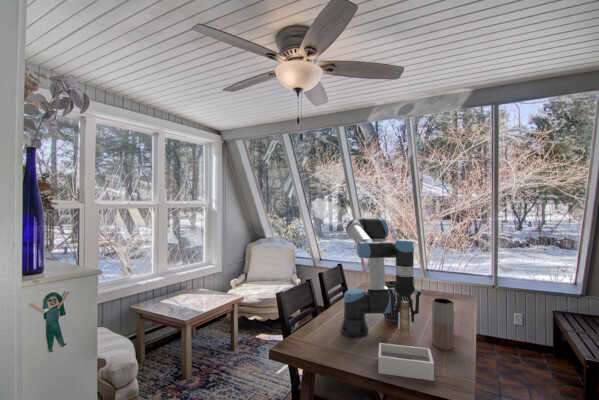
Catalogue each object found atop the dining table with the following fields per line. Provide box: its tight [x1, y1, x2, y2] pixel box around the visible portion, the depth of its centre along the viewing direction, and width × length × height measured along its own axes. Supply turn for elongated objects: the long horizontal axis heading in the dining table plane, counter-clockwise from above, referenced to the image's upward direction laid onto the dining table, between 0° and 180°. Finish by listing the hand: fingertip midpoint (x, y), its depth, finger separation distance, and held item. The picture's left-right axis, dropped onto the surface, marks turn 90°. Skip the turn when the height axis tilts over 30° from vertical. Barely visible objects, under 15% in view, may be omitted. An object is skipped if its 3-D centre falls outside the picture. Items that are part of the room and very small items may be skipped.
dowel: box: [399, 300, 411, 337], centre depth 140 cm, size 4×4×14 cm
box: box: [377, 342, 435, 382], centre depth 140 cm, size 22×14×7 cm, turn 75°
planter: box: [431, 297, 455, 351], centre depth 163 cm, size 10×10×23 cm
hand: (404, 328), depth 140 cm, fingers closed on dowel, 4 cm apart
